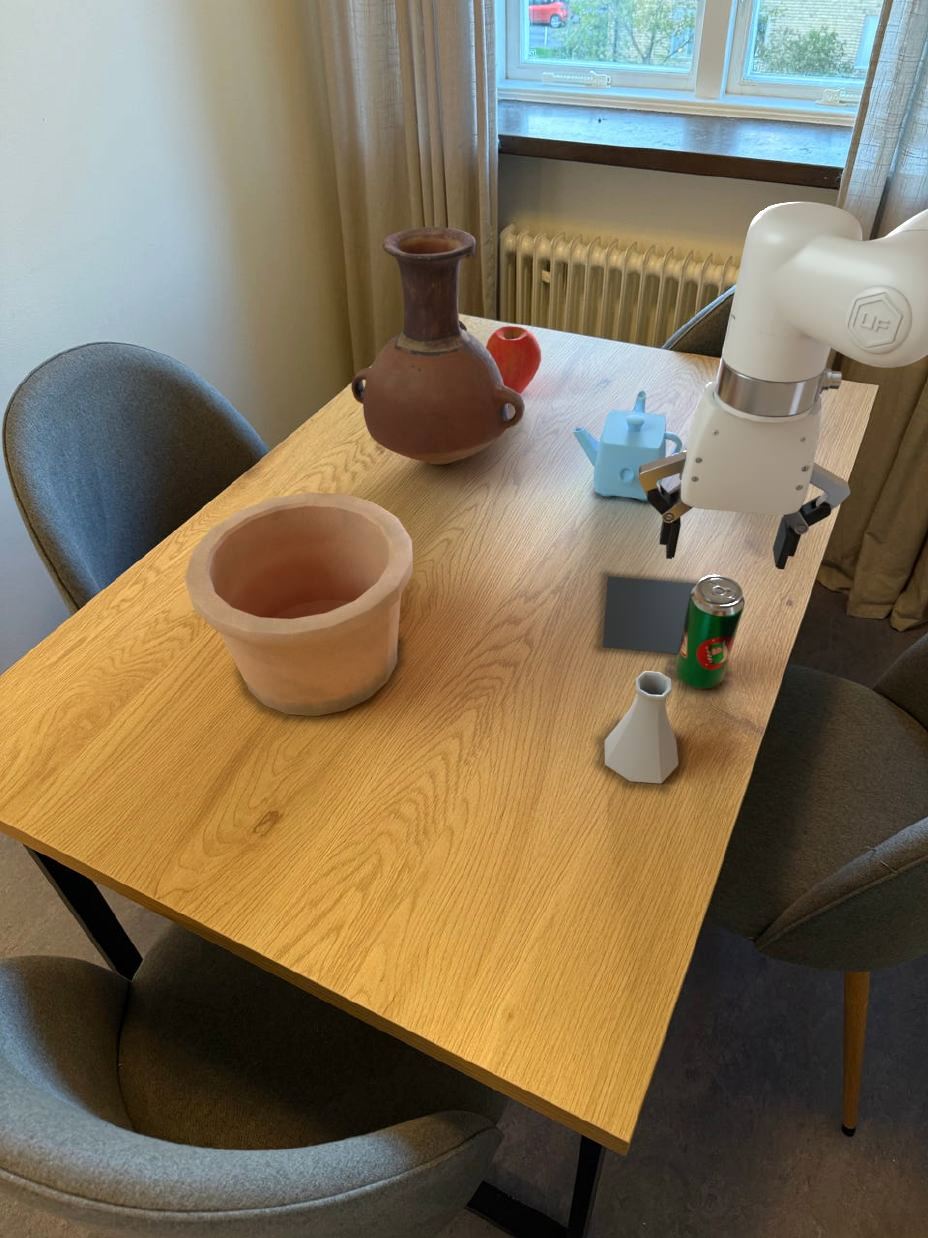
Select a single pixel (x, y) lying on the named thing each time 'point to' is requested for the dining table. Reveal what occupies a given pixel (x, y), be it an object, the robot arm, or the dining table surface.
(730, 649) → the soda can
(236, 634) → the pottery
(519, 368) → the apple
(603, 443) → the teapot
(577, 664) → the dining table surface
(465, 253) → the vase
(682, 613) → the mat
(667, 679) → the flask
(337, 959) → the dining table surface
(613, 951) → the dining table surface
